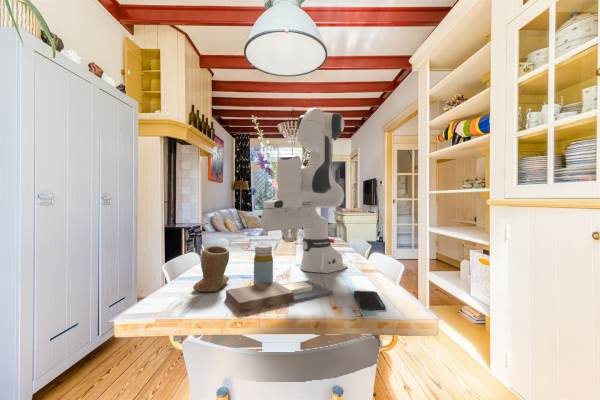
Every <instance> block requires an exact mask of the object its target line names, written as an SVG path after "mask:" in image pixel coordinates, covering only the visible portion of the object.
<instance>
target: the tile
mask: <svg viewBox="0 0 600 400" xmlns="http://www.w3.org/2000/svg"><path fill="white" fill-rule="evenodd" d="M297 282H298V283H295V282H291V283H292V284H290V283H286V284H287V285H284V284H281V285H282V286H284V287H286V288H287V289H289V290H291V291H293V292H294V294H297V293H302V292H307V291H312V286H311V285H309V284H307V283H305V282H301V281H297Z"/></svg>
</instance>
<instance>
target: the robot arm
mask: <svg viewBox="0 0 600 400" xmlns="http://www.w3.org/2000/svg"><path fill="white" fill-rule="evenodd" d="M344 128H345V120H344V117H343V115H342V114H341V113H338V112H325V111H323V110H322V109H320V108H318V107H313V108H310V109H307V111H305V113H304V114H303V115H300V116H299V117H298V119H297V123H296V129H297V134H296V135H297V141H298V143H299V145H300V146H301V147H302V148H303V149H305V150H306V151H309V157H308V165H307V166H305V165H304V166H303V165H302V160H301V156H299V155H296V154H295V155H293V154H289V155H288V154H287V155H282V156H281V157H278V161H277V166H276V185H277V191H276V197H273V198H269V199H268V200H265V201H263V205H262V206H263V208H264V209H263V210H262V211H261V218H260V228H261V230H262V231H265V232H274V231H276V232H277V231H281V234H282V235H283V237H284V243H287V244H288V243H294V242H295V237H296V235H297V233H298V229H303V237H302V258H301V262H300V267H299V269H300V270H302V271H304V272H309V273H322V274H329V273H333V272H337V271H340V270H344V269H345V270H346V269H348V268H349V267H348V266H349V265H348V264H347V263H345V262H344V261H343V256H342V253H340V251H338V250H337V249H336V248H335V247H333V246H332V244H335V242H336V239H335V238H332V237H331V238H329V237H328V236H329V228H328V227H329V223H328V220H327V219H326V218H325V217H324V216H323V215H320V214H319V213H318V210H317V208H320V209H321V208H324V209H325V208H326V209H330V208H335V207H340V206H341V205H342V204H343V202H344V199H345V192H344V189H343V188H342V186H341V185H340V184H338V183H337V182H336V180H335V179H334V175H333V171H332V169H333V168H332V167H333V157H334V144H333V141H334V142H335V141H337V139H338V138H339V137H341V135H342V134H343V133H344ZM289 230H290V232H291V234H290V236H289V235H288V233H289Z"/></svg>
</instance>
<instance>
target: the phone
mask: <svg viewBox="0 0 600 400" xmlns="http://www.w3.org/2000/svg"><path fill="white" fill-rule="evenodd" d="M353 295H354V296H353V297H354V298H355V300H357V301H356V303H357V305H358V306H357V307H358V309H359V308H360V309H361V311H372V310H385V309H386V305H385V303H384V302H383V301H382V298H381V297H380V295H379V293H378V292H377V291H374V290H372V291H371V290H354V292H353ZM360 309H359V310H360ZM385 311H386V310H385Z"/></svg>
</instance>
